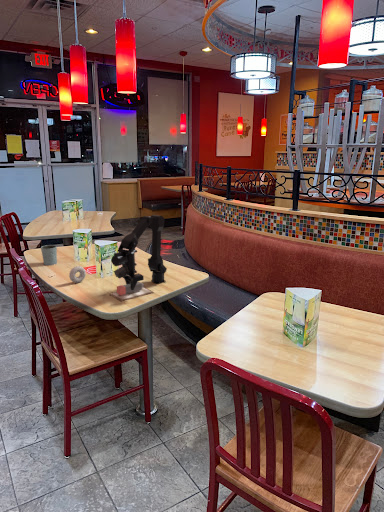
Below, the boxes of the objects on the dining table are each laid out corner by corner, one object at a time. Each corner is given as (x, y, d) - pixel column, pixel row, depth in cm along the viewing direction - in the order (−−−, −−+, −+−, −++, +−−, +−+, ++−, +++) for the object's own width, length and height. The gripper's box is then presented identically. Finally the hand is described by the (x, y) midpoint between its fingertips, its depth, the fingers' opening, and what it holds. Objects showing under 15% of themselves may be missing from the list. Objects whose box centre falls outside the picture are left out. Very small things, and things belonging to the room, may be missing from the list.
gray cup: (52, 260, 267) (50, 244, 264) (61, 263, 262) (59, 246, 258) (39, 264, 260) (37, 247, 256) (48, 266, 254) (46, 249, 251)
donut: (71, 285, 220) (70, 268, 217) (68, 283, 222) (67, 267, 220) (87, 281, 227) (86, 265, 224) (84, 279, 229) (83, 264, 226)
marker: (141, 287, 213) (140, 280, 212) (144, 288, 210) (144, 282, 209) (117, 293, 204) (116, 286, 203) (120, 295, 201) (120, 288, 200)
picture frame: (141, 286, 218) (141, 285, 218) (153, 292, 209) (153, 291, 209) (109, 294, 207) (109, 293, 206) (121, 301, 197) (121, 300, 197)
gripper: (107, 260, 204) (109, 287, 209) (124, 268, 190) (125, 297, 195) (125, 256, 211) (127, 283, 215) (143, 264, 197) (144, 292, 201)
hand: (130, 289), depth 206 cm, fingers closed on marker, 4 cm apart
